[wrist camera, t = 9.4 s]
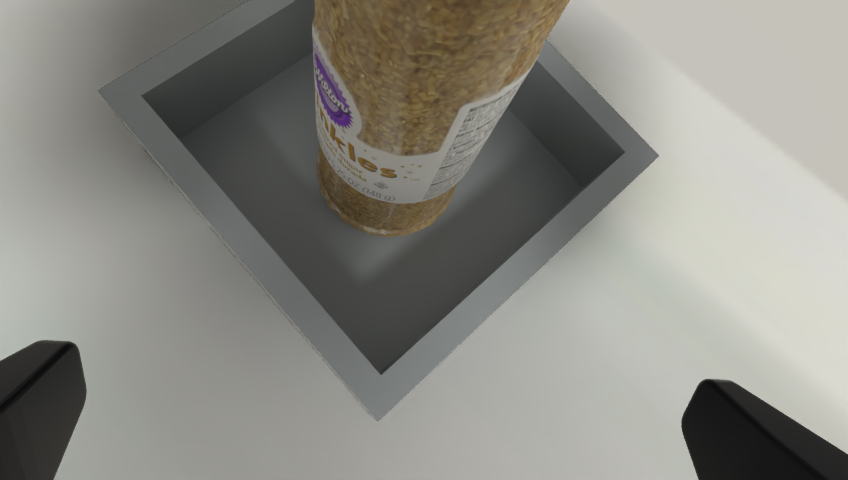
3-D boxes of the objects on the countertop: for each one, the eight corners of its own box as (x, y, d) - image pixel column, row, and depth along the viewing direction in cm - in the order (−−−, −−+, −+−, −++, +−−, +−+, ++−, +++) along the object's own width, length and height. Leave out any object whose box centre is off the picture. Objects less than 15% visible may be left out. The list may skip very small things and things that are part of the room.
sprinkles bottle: (287, 167, 17) (149, -474, 4) (391, 86, 19) (518, -588, 6) (385, 271, 17) (546, -98, 4) (485, 181, 18) (845, -312, 5)
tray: (369, 414, 16) (378, 421, 13) (143, 148, 17) (97, 90, 14) (603, 195, 19) (659, 155, 16) (400, -19, 20) (412, -98, 17)
